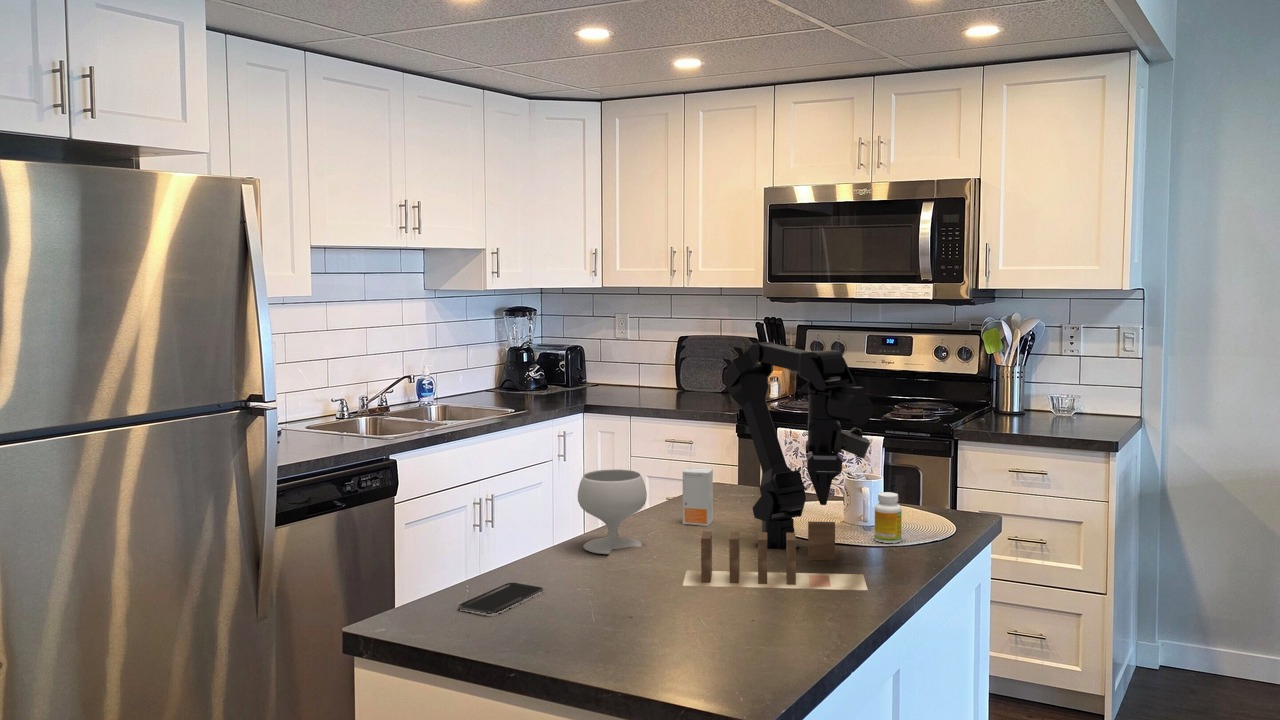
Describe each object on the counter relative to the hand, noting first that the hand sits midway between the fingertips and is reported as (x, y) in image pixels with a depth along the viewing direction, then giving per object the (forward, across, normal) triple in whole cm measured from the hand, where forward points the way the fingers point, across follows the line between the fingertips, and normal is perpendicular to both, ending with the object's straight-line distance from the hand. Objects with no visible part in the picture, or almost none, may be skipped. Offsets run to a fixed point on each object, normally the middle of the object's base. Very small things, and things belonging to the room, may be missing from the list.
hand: (822, 498), depth 199 cm
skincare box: (+14, +28, +26) cm, 41 cm away
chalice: (+13, +8, +42) cm, 44 cm away
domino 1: (+12, -14, +21) cm, 28 cm away
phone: (+14, -27, +55) cm, 63 cm away
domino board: (+12, -14, +9) cm, 21 cm away
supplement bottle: (+13, +18, -14) cm, 26 cm away
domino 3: (+12, -14, +11) cm, 21 cm away
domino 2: (+12, -14, +16) cm, 24 cm away
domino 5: (+13, 0, 0) cm, 13 cm away
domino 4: (+12, -14, +6) cm, 19 cm away
